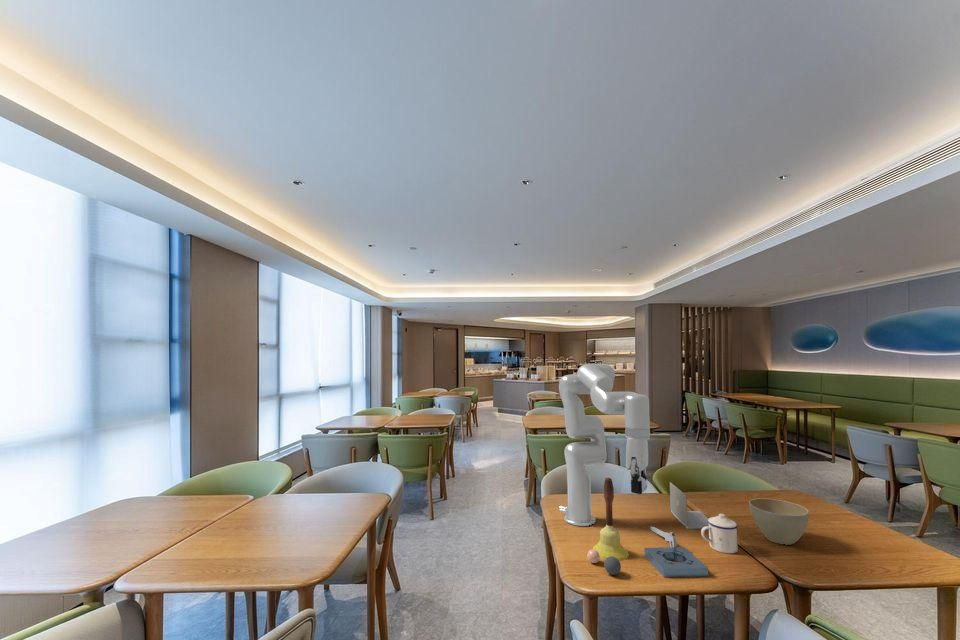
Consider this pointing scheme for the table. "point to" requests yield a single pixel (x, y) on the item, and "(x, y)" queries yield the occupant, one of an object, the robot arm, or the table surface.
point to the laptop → (685, 510)
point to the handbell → (610, 530)
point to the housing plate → (672, 569)
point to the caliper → (666, 536)
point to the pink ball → (593, 556)
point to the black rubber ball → (612, 565)
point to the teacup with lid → (721, 534)
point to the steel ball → (643, 484)
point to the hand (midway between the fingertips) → (639, 490)
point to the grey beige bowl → (779, 519)
